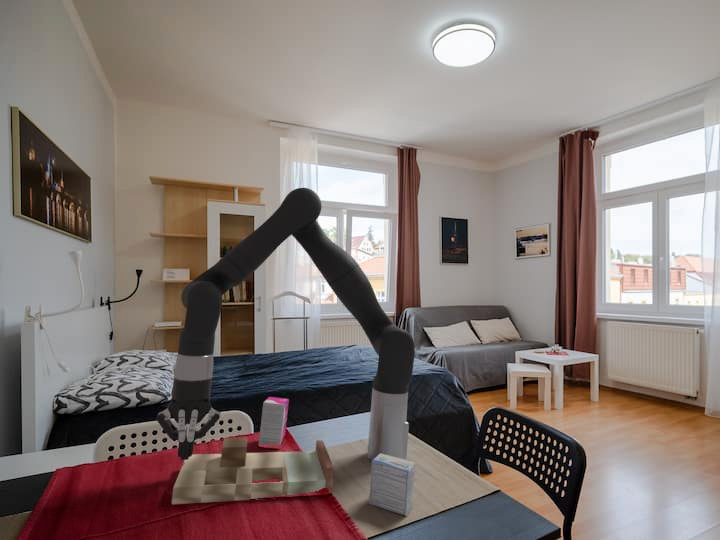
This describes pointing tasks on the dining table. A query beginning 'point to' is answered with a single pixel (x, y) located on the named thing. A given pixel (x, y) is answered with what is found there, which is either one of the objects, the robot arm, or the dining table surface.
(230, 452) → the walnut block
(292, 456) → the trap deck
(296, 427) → the dining table surface
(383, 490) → the medicine box
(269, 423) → the supplement box
